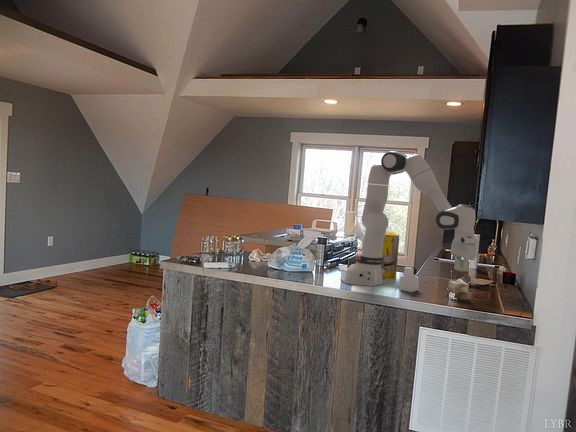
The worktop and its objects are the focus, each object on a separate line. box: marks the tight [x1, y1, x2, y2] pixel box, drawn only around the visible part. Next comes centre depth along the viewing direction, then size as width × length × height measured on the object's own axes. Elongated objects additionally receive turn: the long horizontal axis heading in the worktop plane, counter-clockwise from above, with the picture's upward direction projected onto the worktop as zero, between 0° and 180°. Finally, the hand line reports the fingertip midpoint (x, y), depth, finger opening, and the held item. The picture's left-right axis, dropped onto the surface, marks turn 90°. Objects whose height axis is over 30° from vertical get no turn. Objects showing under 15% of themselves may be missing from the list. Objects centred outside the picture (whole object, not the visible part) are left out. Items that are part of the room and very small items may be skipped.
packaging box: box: [381, 231, 400, 280], centre depth 276 cm, size 16×16×25 cm
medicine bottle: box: [398, 266, 420, 293], centre depth 242 cm, size 7×7×12 cm
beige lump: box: [446, 287, 469, 301], centre depth 232 cm, size 7×7×4 cm
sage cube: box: [453, 258, 470, 272], centre depth 231 cm, size 5×5×5 cm
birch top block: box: [448, 280, 470, 293], centre depth 232 cm, size 7×7×4 cm
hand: (461, 266), depth 231 cm, fingers closed on sage cube, 5 cm apart
